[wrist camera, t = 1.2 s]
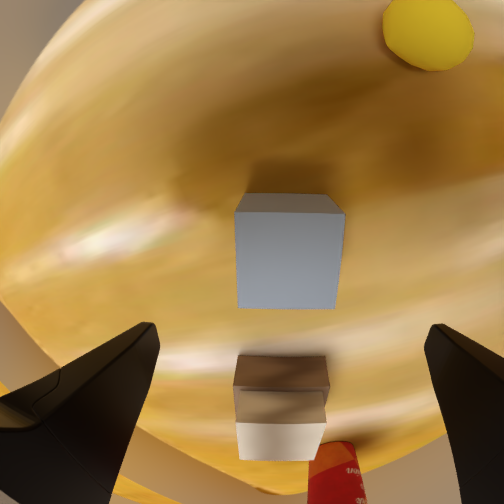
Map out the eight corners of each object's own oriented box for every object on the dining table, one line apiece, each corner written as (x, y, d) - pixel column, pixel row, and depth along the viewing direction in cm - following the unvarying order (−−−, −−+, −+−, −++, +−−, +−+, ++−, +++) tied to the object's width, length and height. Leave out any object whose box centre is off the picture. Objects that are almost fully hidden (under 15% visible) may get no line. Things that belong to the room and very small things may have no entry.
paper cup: (354, 460, 29) (364, 547, 16) (298, 465, 29) (298, 555, 17) (369, 432, 26) (388, 535, 13) (304, 438, 27) (306, 549, 14)
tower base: (324, 355, 22) (335, 418, 16) (314, 406, 24) (318, 462, 18) (238, 354, 22) (227, 417, 16) (241, 405, 25) (234, 461, 19)
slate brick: (326, 194, 17) (345, 214, 12) (321, 268, 19) (334, 308, 14) (245, 192, 17) (234, 212, 13) (246, 267, 19) (238, 307, 15)
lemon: (398, 89, 14) (430, 80, 10) (353, 22, 13) (367, -9, 8) (468, 59, 12) (509, 49, 7) (427, -4, 10) (457, -31, 6)
